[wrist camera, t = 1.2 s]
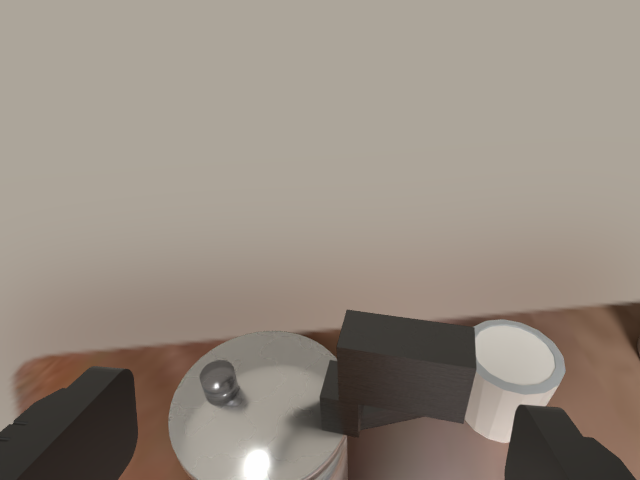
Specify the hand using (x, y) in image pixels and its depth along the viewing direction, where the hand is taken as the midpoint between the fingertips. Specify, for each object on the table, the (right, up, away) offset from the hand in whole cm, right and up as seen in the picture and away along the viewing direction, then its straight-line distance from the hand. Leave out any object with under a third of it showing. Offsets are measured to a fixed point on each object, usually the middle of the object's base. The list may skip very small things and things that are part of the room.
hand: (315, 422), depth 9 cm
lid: (-1, -7, +17) cm, 18 cm away
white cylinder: (+14, -10, +27) cm, 32 cm away
